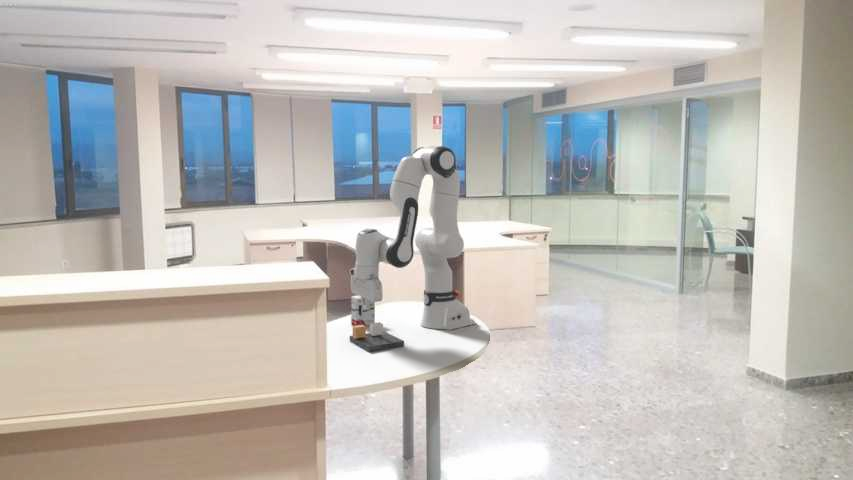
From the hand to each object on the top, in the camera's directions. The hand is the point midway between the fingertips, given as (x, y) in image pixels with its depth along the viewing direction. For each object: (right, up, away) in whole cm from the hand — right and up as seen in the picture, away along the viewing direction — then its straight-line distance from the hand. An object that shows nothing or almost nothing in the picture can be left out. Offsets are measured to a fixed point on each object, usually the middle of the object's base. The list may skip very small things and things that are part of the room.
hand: (366, 309), depth 244 cm
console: (+5, -12, -9) cm, 15 cm away
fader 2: (+4, -9, -5) cm, 11 cm away
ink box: (-3, -9, +19) cm, 21 cm away
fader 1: (-2, -9, -8) cm, 12 cm away
